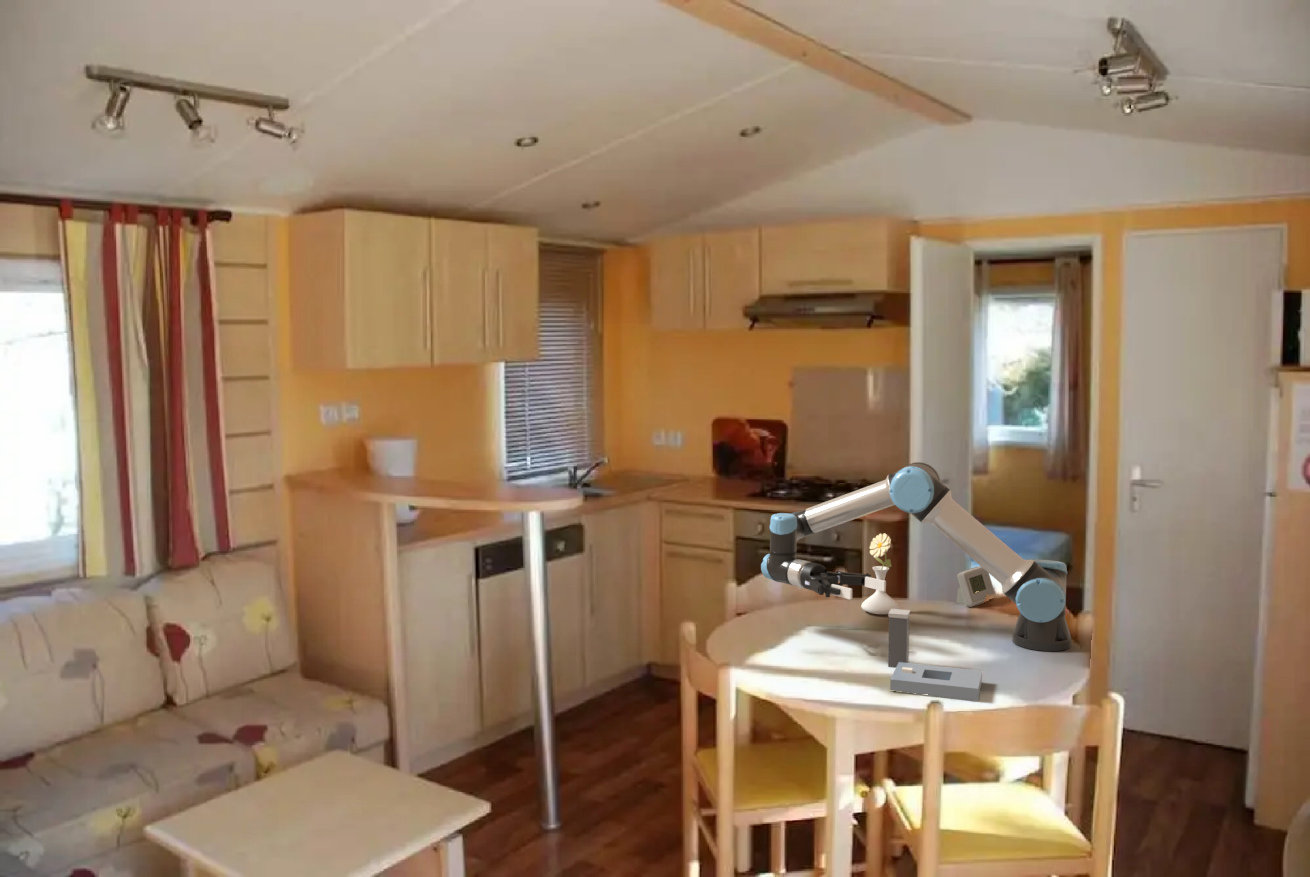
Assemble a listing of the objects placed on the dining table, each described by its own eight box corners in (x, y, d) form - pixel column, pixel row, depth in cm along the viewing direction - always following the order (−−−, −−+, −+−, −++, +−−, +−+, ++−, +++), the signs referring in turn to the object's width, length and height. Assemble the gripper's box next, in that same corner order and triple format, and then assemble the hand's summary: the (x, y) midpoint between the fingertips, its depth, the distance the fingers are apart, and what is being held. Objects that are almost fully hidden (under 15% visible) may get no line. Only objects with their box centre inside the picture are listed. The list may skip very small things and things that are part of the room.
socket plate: (981, 682, 260) (982, 667, 260) (977, 701, 247) (978, 685, 247) (898, 673, 267) (898, 659, 267) (890, 691, 254) (890, 676, 254)
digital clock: (968, 609, 328) (969, 575, 327) (946, 603, 336) (946, 569, 335) (1003, 601, 337) (1004, 568, 336) (980, 595, 345) (981, 563, 344)
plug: (909, 663, 276) (910, 610, 274) (906, 669, 271) (907, 614, 270) (890, 661, 277) (891, 608, 276) (887, 667, 273) (888, 613, 271)
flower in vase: (856, 608, 330) (857, 528, 327) (892, 607, 331) (893, 527, 329) (869, 619, 317) (870, 536, 314) (906, 618, 318) (908, 535, 316)
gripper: (837, 581, 305) (898, 596, 288) (776, 595, 289) (836, 612, 273) (838, 556, 304) (898, 569, 287) (776, 568, 288) (837, 583, 272)
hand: (868, 590), depth 280 cm, fingers open, 13 cm apart
